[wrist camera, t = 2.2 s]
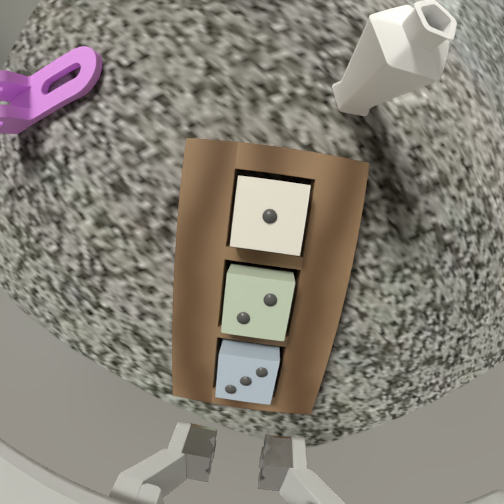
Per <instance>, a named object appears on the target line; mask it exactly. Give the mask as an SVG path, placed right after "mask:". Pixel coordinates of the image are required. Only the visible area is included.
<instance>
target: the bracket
mask: <svg viewBox="0 0 504 504" xmlns="http://www.w3.org/2000/svg"><path fill="white" fill-rule="evenodd" d="M80 66H81V70H80V73H79V74H78V76H77V77H76V78H74V79H72V80H70V81H69V82H67V83H65V84H63V85H62V86H60V87H58V88H57V89H55V90H53V91H52V92H50V93H48V89H49V87H50V85H51V84H52V83H53V82H54V81H56V80H57V79H59V78H61V77H63V76H64V75H66V74H68V73H70V72H71V71H73V70H75V69H77V68H79V67H80ZM101 71H102V59H101V56H100V55H99V54H98V53H97V52H96V51H94V50H92V49H91V48H89V47H78V48H75V49H73V50H72V51H70V52H68V53H66V54H65V55H63V56H61V57H60V58H58V59H56V60H55V61H53V62H52V63H50V64H49V65H47V66H45V67H44V68H42V69H41V70H39V71H38V72H36V73H35V74H34V75H32V76H24V75H21V74H17V73H14V72H10V71H6V70H2V71H0V100H1V101H7V102H10V105H0V133H8V134H19V133H20V132H22V131H23V130H25V129H27V128H28V127H30V126H31V125H33V124H34V123H36V122H38V121H39V120H41V119H42V118H44V117H46V116H47V115H49V114H51V113H53V112H54V111H56V110H58V109H60V108H61V107H63V106H65V105H67V104H69V103H71V102H73V101H74V100H76V99H78V98H80V97H82V96H84V95H85V94H87V93H88V92H89V91H90V90H91V89H92V88H93V87H94V86H95V84H96V83H97V81H98V79H99V77H100V75H101Z"/></svg>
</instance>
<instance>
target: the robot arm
mask: <svg viewBox="0 0 504 504" xmlns="http://www.w3.org/2000/svg"><path fill="white" fill-rule="evenodd" d="M216 435H217V429H215V428H210V427H205V426H201V425H196V424H191V423H187V422H182V421H179V422H178V423H177V425H176V428H175V431H174V433H173V436H172V439H171V441H170V444H169V446H168V449H163V450H161V451H159V452H157V453H156V454H154V455H152V456H151V457H149V458H147V459H145V460H144V461H142V462H140V463H139V464H137V465H135V466H133V467H131V468H129V469H127V470H126V471H123V472H121V473H120V474H119V476H118V478H117V480H116V482H115V484H114V486H113V489H112V491H111V493H110V495H109V497H108V496H105V495H103V494H101V493H98V492H96V491H94V490H91V489H89V488H87V487H84V486H82V485H80V484H78V483H76V482H74V481H71V480H69V479H67V478H65V477H63V476H61V475H59V474H57V473H56V472H54V471H52V470H50V469H48V468H46V467H44V466H43V465H41V464H39V463H38V462H36V461H34V460H33V459H31V458H29V457H28V456H26V455H24V454H23V453H21V452H20V451H18V450H17V449H15V448H14V447H12V446H11V445H9V444H8V443H6V442H5V441H3V440H2V439H0V504H164V502H163V498H164V497H165V496H166V495H168V494H169V493H170V492H171V491H173V490H174V489H175V488H176V487H178V486H179V485H180V484H181V483H183V482H184V481H185V480H186V479H187V478H188V479H194V480H199V481H205V482H208V480H209V476H210V472H211V463H212V462H213V458H214V452H215V446H216ZM259 468H260V469H261V470H260V473H259V479H258V489H264V490H274V491H279V492H280V494H281V495H282V497H283V498H284V500H285V501H286V503H287V504H345V503H344V502H343V501H342V500H341V499H340V498H339V497H338V496H337V495H336V494H335V493H334V492H333V491H332V490H331V489H330V488H329V487H328V486H327V485H326V484H325V483H324V482H323V481H322V480H321V479H320V478H319V477H318V476H317V475H316V473H315V472H314V471H313V470H312V469H308V467H307V456H306V445H305V439H304V438H296V437H283V436H270V435H266V436H265V439H264V447H262V451H261V456H260V465H259ZM462 504H504V492H503V491H501V490H496V491H492V492H490V493H488V494H485V495H483V496H480V497H478V498H476V499H473V500H470V501H468V502H465V503H462Z"/></svg>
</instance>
